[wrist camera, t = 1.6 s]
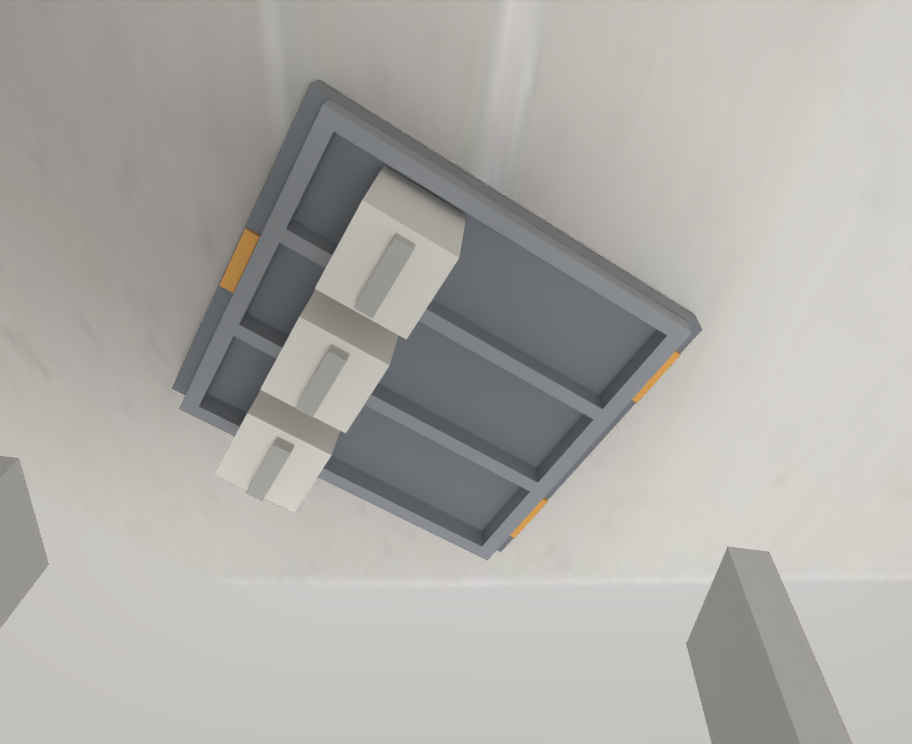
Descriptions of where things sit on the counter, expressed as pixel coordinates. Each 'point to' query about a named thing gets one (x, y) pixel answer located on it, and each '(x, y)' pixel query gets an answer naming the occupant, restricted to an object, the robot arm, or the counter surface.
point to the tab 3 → (277, 452)
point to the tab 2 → (331, 362)
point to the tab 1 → (394, 253)
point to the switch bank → (439, 336)
